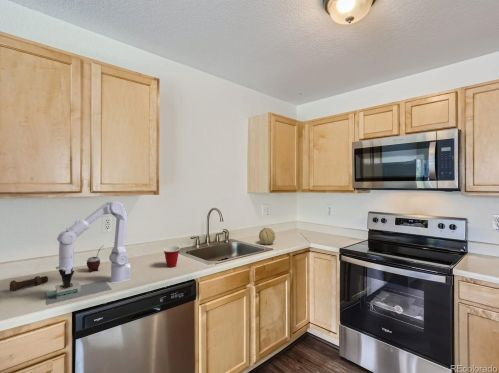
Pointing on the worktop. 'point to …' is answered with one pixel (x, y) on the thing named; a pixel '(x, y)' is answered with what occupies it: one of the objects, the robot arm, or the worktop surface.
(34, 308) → the worktop surface
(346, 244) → the worktop surface
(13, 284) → the bolt
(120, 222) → the robot arm
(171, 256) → the plastic cup
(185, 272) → the worktop surface
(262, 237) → the cantaloupe
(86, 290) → the mat
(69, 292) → the grey teal hollow block
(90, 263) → the mate gourd
